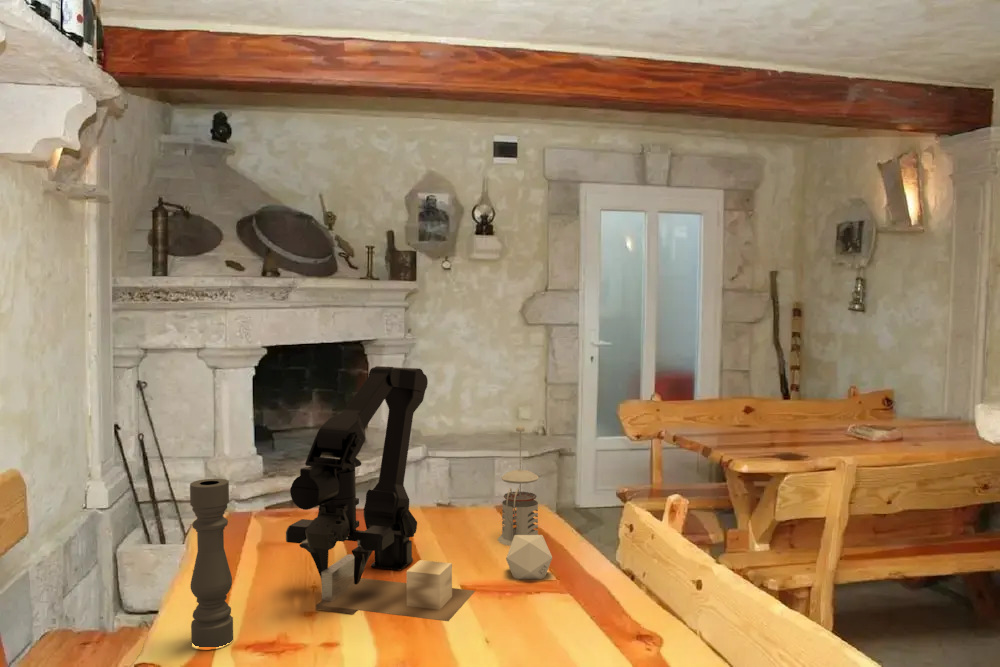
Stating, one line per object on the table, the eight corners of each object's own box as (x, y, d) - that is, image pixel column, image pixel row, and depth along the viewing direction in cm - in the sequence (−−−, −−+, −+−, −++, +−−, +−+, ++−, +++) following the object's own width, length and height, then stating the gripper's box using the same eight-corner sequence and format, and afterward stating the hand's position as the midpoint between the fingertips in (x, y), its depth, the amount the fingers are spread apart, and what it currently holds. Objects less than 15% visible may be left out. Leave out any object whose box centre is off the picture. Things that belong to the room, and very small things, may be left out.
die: (537, 595, 151) (564, 546, 153) (494, 568, 152) (523, 520, 155) (534, 594, 159) (560, 548, 162) (494, 569, 160) (521, 524, 163)
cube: (406, 605, 141) (406, 571, 141) (420, 593, 147) (419, 559, 147) (439, 609, 140) (439, 574, 139) (452, 596, 145) (451, 563, 145)
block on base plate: (316, 609, 142) (315, 575, 142) (353, 581, 155) (353, 550, 155) (448, 625, 135) (448, 590, 135) (475, 595, 148) (475, 563, 148)
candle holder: (197, 634, 132) (194, 478, 131) (237, 632, 133) (234, 477, 131) (186, 651, 126) (182, 488, 124) (228, 649, 126) (225, 487, 125)
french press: (547, 535, 184) (548, 423, 183) (532, 551, 173) (533, 432, 172) (505, 531, 187) (505, 421, 186) (488, 546, 176) (488, 429, 175)
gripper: (267, 503, 142) (269, 592, 143) (367, 511, 137) (368, 604, 138) (301, 487, 153) (302, 571, 154) (395, 495, 148) (395, 581, 149)
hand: (340, 582), depth 148 cm, fingers open, 6 cm apart
